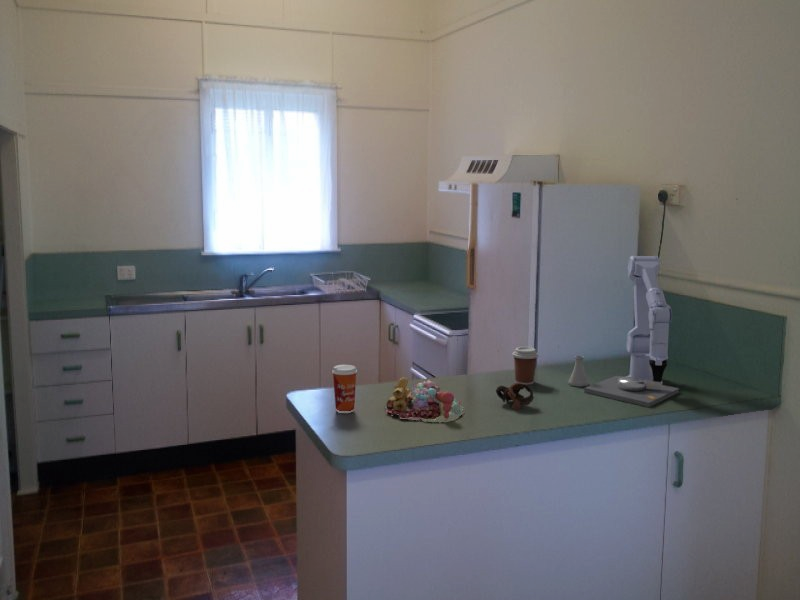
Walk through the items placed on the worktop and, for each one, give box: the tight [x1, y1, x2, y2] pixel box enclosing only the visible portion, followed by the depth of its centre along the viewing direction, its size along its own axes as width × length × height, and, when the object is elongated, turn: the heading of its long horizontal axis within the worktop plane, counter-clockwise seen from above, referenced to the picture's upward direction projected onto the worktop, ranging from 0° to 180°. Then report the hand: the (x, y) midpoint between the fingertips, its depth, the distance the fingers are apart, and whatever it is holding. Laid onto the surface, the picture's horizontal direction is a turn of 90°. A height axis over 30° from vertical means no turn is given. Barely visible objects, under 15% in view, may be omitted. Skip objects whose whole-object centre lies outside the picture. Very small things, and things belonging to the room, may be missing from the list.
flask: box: [567, 355, 590, 387], centre depth 264 cm, size 7×7×10 cm
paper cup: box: [331, 364, 358, 411], centre depth 234 cm, size 8×8×14 cm
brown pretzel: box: [495, 382, 534, 410], centre depth 241 cm, size 12×10×8 cm
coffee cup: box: [511, 346, 540, 386], centre depth 267 cm, size 9×9×12 cm
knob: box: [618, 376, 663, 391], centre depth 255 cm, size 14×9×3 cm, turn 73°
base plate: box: [584, 375, 680, 408], centre depth 256 cm, size 22×23×2 cm
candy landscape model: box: [385, 376, 464, 421], centre depth 236 cm, size 25×24×9 cm
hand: (657, 382), depth 254 cm, fingers closed
